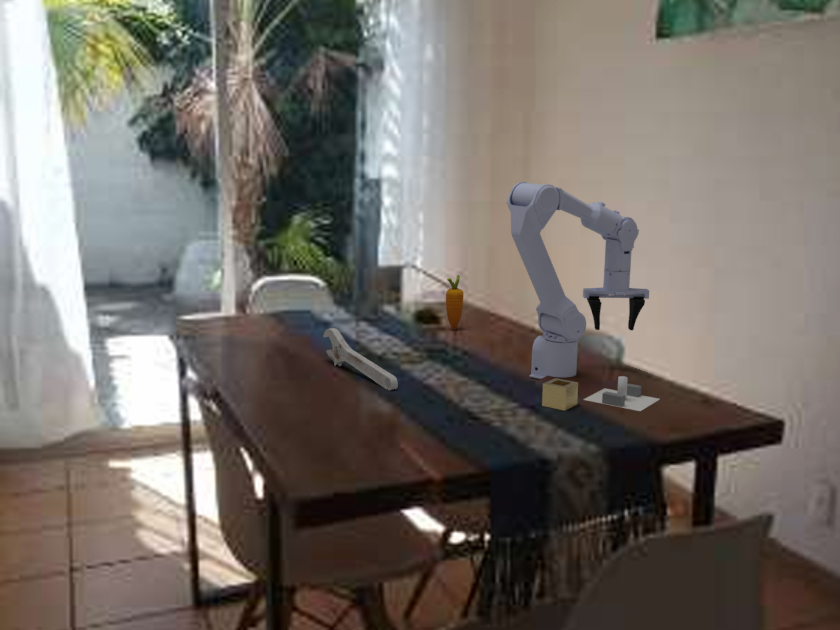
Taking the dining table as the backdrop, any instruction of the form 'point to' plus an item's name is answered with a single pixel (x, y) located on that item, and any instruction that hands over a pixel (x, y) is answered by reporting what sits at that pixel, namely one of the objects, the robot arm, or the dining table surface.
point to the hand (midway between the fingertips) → (613, 329)
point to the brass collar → (560, 394)
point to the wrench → (357, 360)
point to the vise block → (623, 396)
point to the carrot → (454, 303)
